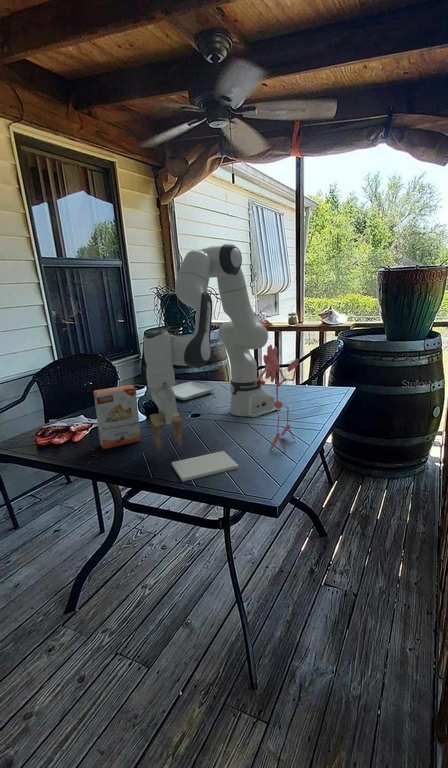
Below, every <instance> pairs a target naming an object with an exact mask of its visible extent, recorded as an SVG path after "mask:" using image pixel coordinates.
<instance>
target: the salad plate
mask: <svg viewBox="0 0 448 768" xmlns="http://www.w3.org/2000/svg"><path fill="white" fill-rule="evenodd" d="M215 389H216V387H215V386H211V385H206V384H204V383H203V384H202V383H199V382H196V381H188V382H183V383H180V384H176V385H174V386H172V390H173V391H174V394H175V399H178V400H180V401H181V400H182V401H189V400H192V399H195V398H199V397H201V396H204V395H207V394H210V393H212V392H213V391H215Z"/></svg>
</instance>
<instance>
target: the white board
mask: <svg viewBox="0 0 448 768" xmlns="http://www.w3.org/2000/svg"><path fill="white" fill-rule="evenodd" d="M171 466H172V468H173V469H174V471H175V472H176V474H177V475H178V477H179V479H180V480H181V481H182V482H186V481H187V482H188V481H190V480H191V481H192V480H194V479H198V478H203V477H207V476H211V475H215V474H219V473H225V472H228V471H232V470H236V469H239V464H238V463H237V462H236V461H235V460H233V458H232V457H231V456H230V455H229V454H227V453H226V451H225V450H222V451H221V450H220V451H216V452H213V453H208V454H203V455H199V456H198V455H197V456H195V457H190V458H185V459H181V460H175V461H172V462H171Z"/></svg>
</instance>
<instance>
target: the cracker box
mask: <svg viewBox="0 0 448 768" xmlns="http://www.w3.org/2000/svg"><path fill="white" fill-rule="evenodd" d="M93 398H94V406H95V412H96V420H97V421H96V422H97V428H98V429H97V430H98V437H99V442H100V443H99V444H100V446H101V447H102V449H103V450H107V449H110V448H115V447H120V446H124V445H129V444H133V443H139V442H141V430H140V421H139V420H140V419H139V418H140V417H139V408H138V400H137V388H136V387H135V386H133V385H132V384H127V385H121V386H115V387H109V388H102V389H97V390H93Z"/></svg>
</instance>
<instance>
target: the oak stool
mask: <svg viewBox="0 0 448 768" xmlns="http://www.w3.org/2000/svg"><path fill="white" fill-rule="evenodd" d="M149 419H150V422H151V427H152V436H153V444H154V446H156V449H157V451H160V450H162V442H161V440H162V439H161V433H160V431H161V430H160V426H161V425H167V424H166V423H165V414H164V412H163V413H159V412H158V413H153V414H150V415H149ZM171 422H172V423H171V424H172V426H173V428H172V429H173V437H174V441H177V445H178V446H181V445H183V436H182V428H181V422H182V415H181V414H180V412H178V411H177V414H175V415H172V417H171Z"/></svg>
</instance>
